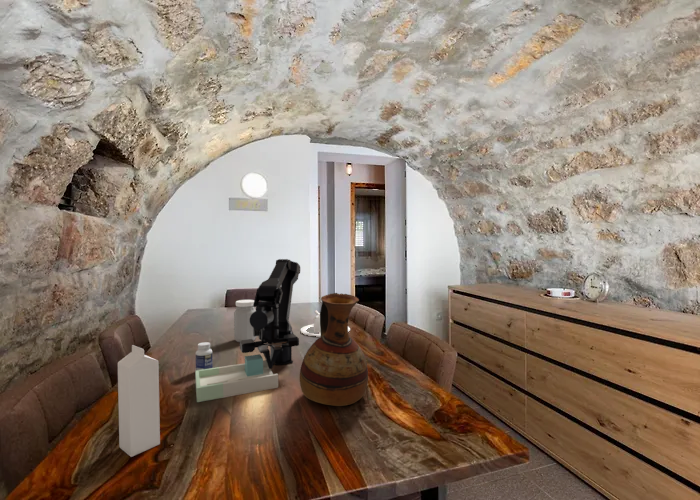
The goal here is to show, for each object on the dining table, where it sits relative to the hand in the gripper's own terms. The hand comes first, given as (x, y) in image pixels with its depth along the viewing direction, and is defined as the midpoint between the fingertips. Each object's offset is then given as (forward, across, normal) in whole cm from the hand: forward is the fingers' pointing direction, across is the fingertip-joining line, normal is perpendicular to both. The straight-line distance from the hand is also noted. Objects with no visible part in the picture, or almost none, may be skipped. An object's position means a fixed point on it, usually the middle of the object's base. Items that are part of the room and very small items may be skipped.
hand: (270, 368), depth 118 cm
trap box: (+2, +11, +4) cm, 12 cm away
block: (0, +5, 0) cm, 5 cm away
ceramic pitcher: (+3, -13, +24) cm, 27 cm away
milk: (+3, +35, +28) cm, 45 cm away
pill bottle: (+3, +20, -14) cm, 24 cm away
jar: (+3, +1, -48) cm, 48 cm away
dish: (+3, -38, -48) cm, 61 cm away
